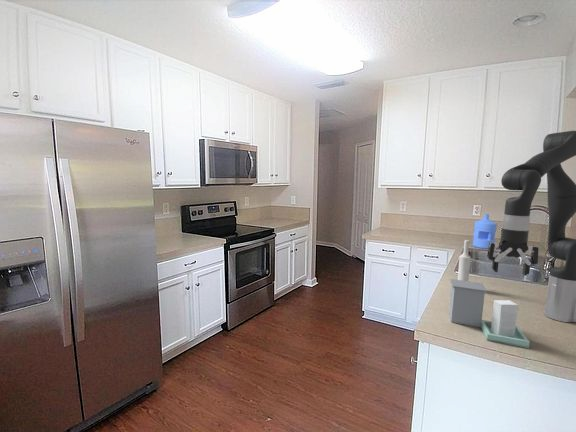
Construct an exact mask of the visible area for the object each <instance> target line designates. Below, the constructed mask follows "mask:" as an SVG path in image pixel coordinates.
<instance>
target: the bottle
mask: <svg viewBox="0 0 576 432" xmlns="http://www.w3.org/2000/svg"><path fill="white" fill-rule="evenodd" d="M469 247H470V240H468V239H464V244H463V253H462V254H460V255H459V257H458V271H457V280H463V281H469V277H470V272H471V271H470V268H471V261H472V257H471V256H470V254H469Z"/></svg>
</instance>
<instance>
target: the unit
mask: <svg viewBox="0 0 576 432" xmlns="http://www.w3.org/2000/svg"><path fill="white" fill-rule="evenodd" d="M450 284H451V288H450V289H451V290H450V299H449V307H448V308H449V309H448V316H449V319H450V322H451V323H455V324H461V325H466V326H471V327H477V328H481V322H482V320H483V312H484V311H483V310H484V304H485V295H486V293H488V289H487V288H486V286H485V285H484V284H483V282H478V281H469V280H468V281H463V280H458V279H455V278H450Z"/></svg>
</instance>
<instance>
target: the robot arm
mask: <svg viewBox="0 0 576 432" xmlns="http://www.w3.org/2000/svg"><path fill="white" fill-rule="evenodd" d="M575 156H576V130H568V131H559V132H554V133H548V134H546V136H544V139H543V143H542V152H539V153H538V154H536V155H534V156H532V157H531V158H530V159H528V160H527V161H526V162H524V163H521V164H517V166H514V167H512V168H511V167H510V169H508V170H507V171H506V172H504V174H503V175H502V178H501V180H500V182H501V186H502V187H503V188H504V189H506V190H508V191H520V192H521V191H522V192H521V193H520V194H519V196H514V197H509V198H507V199H506V200H505V205H504V213H503V214H504V215H503V218H502V223H501V234H500V241H499V243H496V242H495V243H493V242H490V243H489V248H488V249H487V255H486V257H487V259H488V260H490V261H492V264H491V268H492V271H493V272H494V273H498V272H499V261H500V260H502V259H503V258H504V257H508V258H512V257H513V258H517V259H518V258H520V259H521V260H522V261H523V264H522V271H521V272H522V273H521V274H522V276H526V277H527V276H528V275H529V273H530V272H531V271H530V270H531V269H530V268H531V266H532V265H537V264H539V247H538V246H537V245H531V246H529V245H528V240H529V232H530V223H531V221H530V220H531V219H530V216H531V209H532V208H531V206H532V202H533V200H534V197H535V196H536V193H537V192H538V189H539V188H540V186H541V182H542V177H544V176H545V175H546V181H547V186H546V187H547V207H548V208H547V209H548V235H547V236H548V237H547V253H548V255H549V256H550V257H552V258H553V259H558V260H561V261H564V262H565V263H564V266H555V267H551V268H550V270H549V277H548V281H547V282H548V283H547V284H548V285H547V290H546V297H545V306H544V311H543V314H544V316H546V318H549V319H552V320H556V321H558V322H564V323H576V238H571V237H566V227H567V224H568V223H569V221H570V220H571V219H572V218H573V216H574V215H575V214H576V183H575V181H573V179H572V178H571V177H570V176H569V175H568V174H567V173H566V172H565V170H564V168H563V167H562V163H564V162H566V161H567V160H570V159H571V158H573V157H575ZM497 248H499V251H498V252H497V253H496V255H495V256H494V252H495V250H497ZM527 251H529V252H530V259H529V258H528V256H527V255H526V254H525V253H526V252H527Z"/></svg>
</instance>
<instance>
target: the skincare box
mask: <svg viewBox="0 0 576 432" xmlns="http://www.w3.org/2000/svg"><path fill="white" fill-rule="evenodd" d="M492 307H493V308H492V314H491V315H492V318H491V322H492V324H491V332H493V333H494V334H495V335H501V336H506V337H515V329H516V326H517V318H518V311H519V310H518V309H519V304H517V303H516V302H513V301H512V300H510V299H508V300H507V299H506V300H502V299H501V300H499V299H498V300H497V299H494V300H493V306H492Z"/></svg>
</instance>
